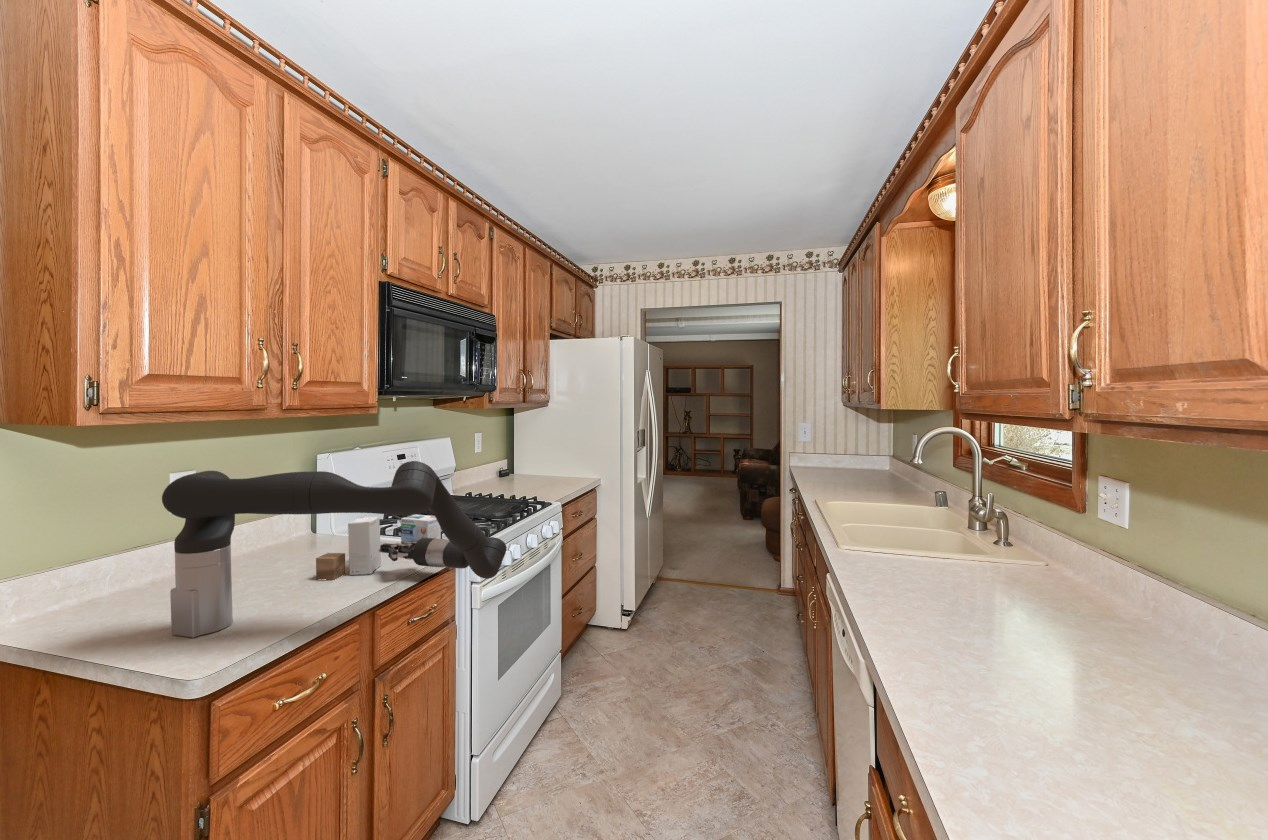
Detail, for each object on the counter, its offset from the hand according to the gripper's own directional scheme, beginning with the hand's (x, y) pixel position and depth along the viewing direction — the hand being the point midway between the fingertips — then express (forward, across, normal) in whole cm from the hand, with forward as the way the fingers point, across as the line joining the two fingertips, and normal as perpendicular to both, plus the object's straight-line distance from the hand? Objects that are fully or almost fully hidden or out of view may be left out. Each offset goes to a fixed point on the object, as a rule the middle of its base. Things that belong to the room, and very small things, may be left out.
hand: (382, 547), depth 147 cm
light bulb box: (+4, -22, +7) cm, 23 cm away
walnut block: (+11, +7, +7) cm, 15 cm away
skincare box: (+6, 0, +7) cm, 9 cm away
